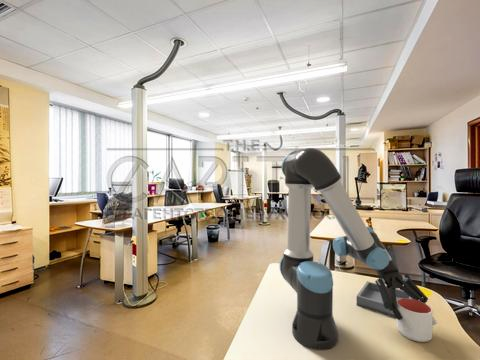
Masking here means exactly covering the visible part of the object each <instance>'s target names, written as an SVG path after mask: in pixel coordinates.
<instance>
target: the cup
mask: <svg viewBox="0 0 480 360" xmlns="http://www.w3.org/2000/svg"><path fill="white" fill-rule="evenodd" d="M397 308H401V310H402V312H403V313H404V315H405V317H406V318H407V320H408V322H409V323H410V325H411V327H412V329H411V330H409V331H405V330H404V328H403V326H402V324H401V323H400V321H399V320H398V319H397V318H396V329H397V331H398V332H399V333H400V334H401V335H402V336H404V337H405V338H407V339H409V340H410V341H411V340H412V341H414V342H418V343H419V342H420V343H426V342H429V341H430V340H431V339H432V338H433V325H432V316H433V309H432V307H431V306H430V305H428V304H425V303H423V302H420V301H418V300H414V299H408V298H401V299H398V300H397Z"/></svg>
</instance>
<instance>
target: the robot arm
mask: <svg viewBox="0 0 480 360" xmlns="http://www.w3.org/2000/svg"><path fill="white" fill-rule="evenodd" d="M281 171H282V172H281V173H282V174H283V175H284V185H285V186H286V187H287V188H288V206H287V207H288V208H287V209H288V212H287V213H288V214H287V215H288V216H287V248H286V247H285V248H286V249H284V250H283V256H282V257H281V258H280V261H279V271H280V274H281V276H282V278H283V279H284V281H286V283H287V284H288V285H289V286H290V287H291V288H292V289H293V290H294V292H295V293H296V296H297V297H296V303H297V304H296V306H297V307H296V312H295V314H294V318H293V320H292V324H291V325H292V326H291V329H292V330H291V333H292V336H293V337H294V339H295V340H296V341H297V342H298V343H299V344H301V345H303V346H305V347H308V348H310V349H314V350H328V349H329V350H330V349H332V348H334V347H335V346H336V345H337V344H338V342H339V330H338V327H337V324H336V321H335V318H334V315H333V305H334V302H333V301H334V300H333V298H334V295H333V291H334V290H333V286H334V279H333V273H332V270H331V269H330V268H329V267H328V266H327V265H325V264H323V263H319V262H317V261H314V252H313V251H311V249H310V248H311V244H310V243H311V241H310V239H311V211H312V210H311V205H312V202H311V199H312V188H314V191H318V192H319V193H320V194H321V196H322V197H323V199H324V201H325V202H326V205H327V206H328V207H329V209H330V210H331V213H332V214H333V216H334V218H335V219H336V221H337V223H338V224H339V226H340V227H341V229H342V231H343V233H344V236H343V235H341V236H338V237H335V238H334V239H333V240H332V249H333V251H334V253H335V254H336V255H337V256H338V257H345V256H348V257H351V258H352V259H355V260H356V261H358V262H360V263H362V264H363V265H365V266H367V267H369V268H372V269H374V270H375V272H376V274H377V276H378V277H379V278H378V279H376V280H375V281H374V283H376V284H377V285H378V287H379V290H380V294H381V297H382V300H383V303H384V307H385V308H386V309H389V310H390V311H393V313H394V315H395V316H396V318H395V319H396V320H397V319H398V320H399V321H400V323H401V324H402V326H403V328H404V330H405V331H409V330H411V329H412V327H411V325H410V323H409V322H408V320H407V318H406V317H405V315H404V313H403V312H402V310H401V308H397V300H396V292H395V289H400V290H403V291H404V292H405V293H406V294H408V295H409V296H410V297H411V298H412V299H414V300H418V301H420V302H423V303H425V304H426V303H427V302H428V300H429V298H428V297H427V296H426V294H425V293H424V292H423V290H421V289H420V288H419V287H418V285H416V283H415V282H414V281H413V279H412V278H411V277H410V276H409V274H407V273H406V274H403V275H402V274H401V273H400V272H399V268H398V266H397V264H396V262H395V261H393V260H392V257H391V255H390V254H389V252H388V251H387V249H386V247H385V246H384V244H383V243H382V241H381V239H380V238H379V236H378V233H376V232H375V231H374V229H373V228H372V227H370V226H366V224H365V222H364V220H363V219H362V216H361V215H360V213H359V211H358V210H357V208H356V206H355V205H354V203H353V201H352V200H351V198H350V196H349V194H348V192H347V191H346V189H345V187H344V185H343V184H342V182H341V180H342V176H341V174H340V172H339V171H338V169H337V167H336V166H335V164H334V162H333V161H332V160H331V159H330V158H329V157H328V155H327V154H325V152H323V151H321V150H320V149H319V148H314V147H308V148H304V149H299V150H298V149H297V150H294V151H291V152H290V153H288V154H287V155H285V157H284V158H283V160H282V161H281ZM386 287H387V288H386ZM387 291H388V292H387ZM437 324H438V321H436V319H435V317H434V315H432V326H435V325H437Z"/></svg>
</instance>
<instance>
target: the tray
mask: <svg viewBox="0 0 480 360" xmlns="http://www.w3.org/2000/svg"><path fill="white" fill-rule="evenodd" d="M386 288H387V287H386ZM387 292H388V291H387ZM395 292H396V300H398V299H401V298H408V299H412V298H411V297H410V296H409V295H408V294H406V293H405V292H404V291H403V290H400V289H399V288H398V289H397V288H396V289H395ZM356 306H357V307H361V308H364V309H367V310H371V311H373V312H377V313H380V314H382V315H383V314H384V315H386V316H389V317H392V318H395V319H397V318H396V316H395V315H394V313H393V311H390V310H389V309H386V308H385V307H384V303H383V300H382V297H381V294H380V290H379V287H378V285H377V284H376V282H373V281H372V282H371V281H366V282H365V284H364V285H363V286H362V288H361V289H360V290H359V292H358V294H356Z"/></svg>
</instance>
